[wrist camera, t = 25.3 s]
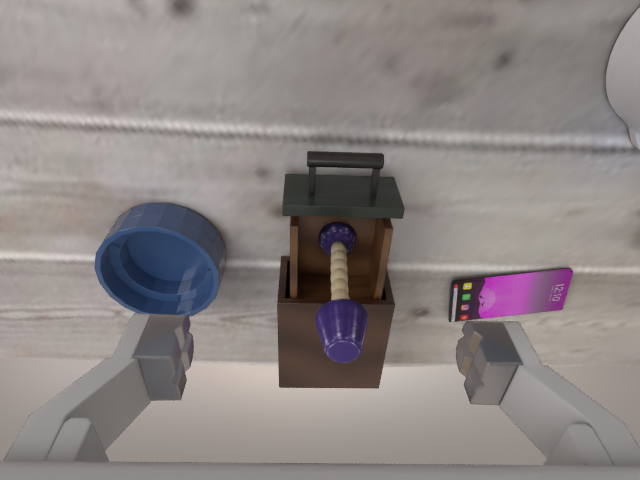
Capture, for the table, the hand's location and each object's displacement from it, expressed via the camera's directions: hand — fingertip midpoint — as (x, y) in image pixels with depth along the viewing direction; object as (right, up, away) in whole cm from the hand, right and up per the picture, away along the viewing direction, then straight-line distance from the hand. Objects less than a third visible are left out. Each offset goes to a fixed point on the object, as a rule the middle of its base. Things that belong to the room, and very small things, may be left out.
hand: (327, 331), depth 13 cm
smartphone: (+24, -4, +44) cm, 51 cm away
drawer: (+2, +6, +35) cm, 36 cm away
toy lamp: (+2, +3, +36) cm, 36 cm away
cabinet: (+1, -5, +44) cm, 45 cm away
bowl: (-18, +2, +39) cm, 43 cm away
